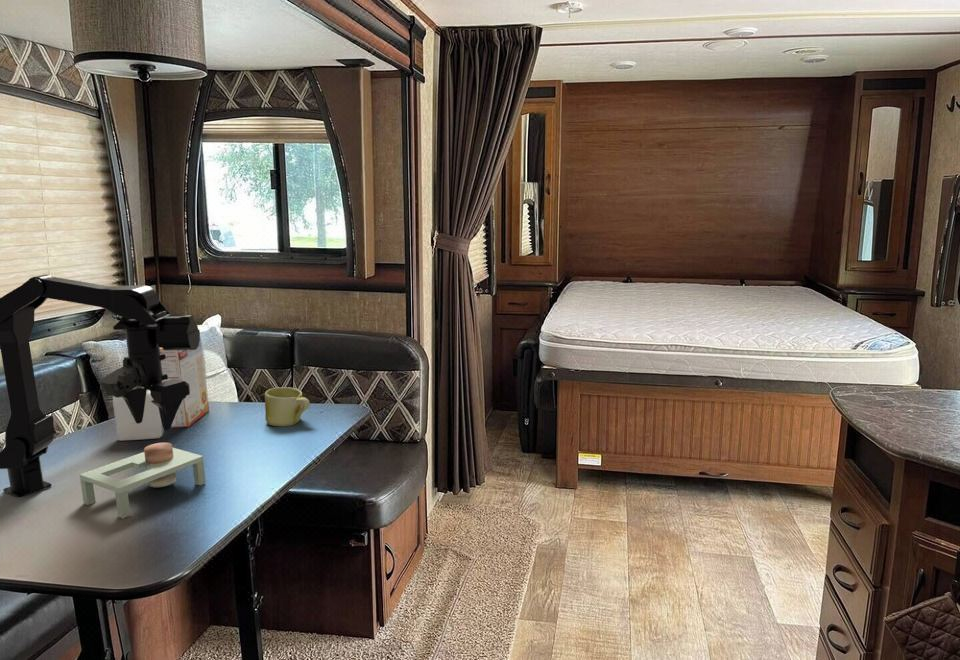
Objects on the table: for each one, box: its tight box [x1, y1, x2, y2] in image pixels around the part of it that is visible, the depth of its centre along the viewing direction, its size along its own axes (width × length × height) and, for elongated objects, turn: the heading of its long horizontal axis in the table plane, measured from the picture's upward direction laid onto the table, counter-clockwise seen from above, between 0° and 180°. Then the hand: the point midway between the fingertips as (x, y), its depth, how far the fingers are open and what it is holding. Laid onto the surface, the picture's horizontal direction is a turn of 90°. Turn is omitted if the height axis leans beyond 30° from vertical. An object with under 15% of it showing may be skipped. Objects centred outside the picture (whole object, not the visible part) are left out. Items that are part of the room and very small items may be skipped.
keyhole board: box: [79, 447, 207, 519], centre depth 142 cm, size 13×18×6 cm
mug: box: [264, 386, 311, 427], centre depth 183 cm, size 12×10×10 cm
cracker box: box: [160, 336, 210, 429], centre depth 186 cm, size 14×6×21 cm, turn 178°
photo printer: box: [112, 390, 163, 442], centre depth 173 cm, size 10×4×12 cm, turn 96°
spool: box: [143, 442, 177, 488], centre depth 144 cm, size 5×5×8 cm
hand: (152, 426), depth 143 cm, fingers open, 9 cm apart
